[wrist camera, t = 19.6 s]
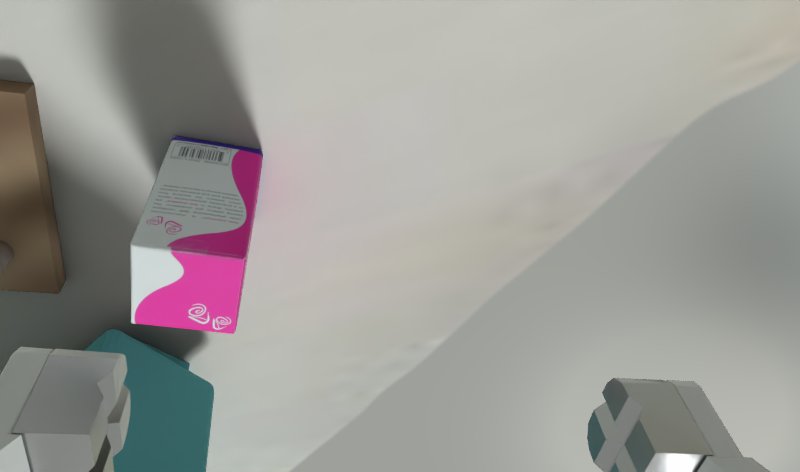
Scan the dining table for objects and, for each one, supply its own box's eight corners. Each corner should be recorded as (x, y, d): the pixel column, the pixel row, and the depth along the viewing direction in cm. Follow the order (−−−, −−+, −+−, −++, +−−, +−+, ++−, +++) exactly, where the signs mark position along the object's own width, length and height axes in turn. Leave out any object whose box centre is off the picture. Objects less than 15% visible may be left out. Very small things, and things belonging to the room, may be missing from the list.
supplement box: (168, 210, 45) (125, 326, 35) (172, 133, 42) (126, 237, 32) (254, 223, 46) (235, 338, 37) (265, 149, 43) (246, 254, 33)
